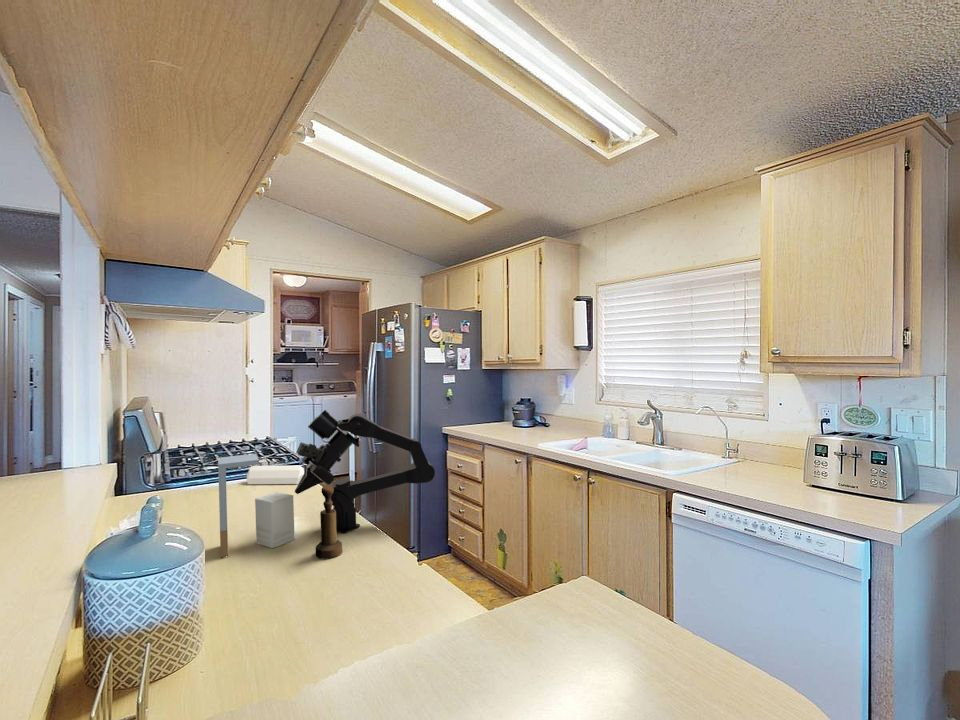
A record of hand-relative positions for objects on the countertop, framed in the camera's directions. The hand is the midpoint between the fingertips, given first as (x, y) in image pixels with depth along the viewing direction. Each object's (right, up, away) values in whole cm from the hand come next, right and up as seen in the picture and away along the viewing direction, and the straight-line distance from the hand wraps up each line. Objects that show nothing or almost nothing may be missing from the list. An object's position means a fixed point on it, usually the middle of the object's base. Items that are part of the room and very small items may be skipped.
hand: (295, 492), depth 136 cm
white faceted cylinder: (-30, -13, +59) cm, 67 cm away
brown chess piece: (+13, -13, -11) cm, 21 cm away
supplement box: (-5, -13, -3) cm, 14 cm away
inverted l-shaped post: (-12, -13, -7) cm, 19 cm away
